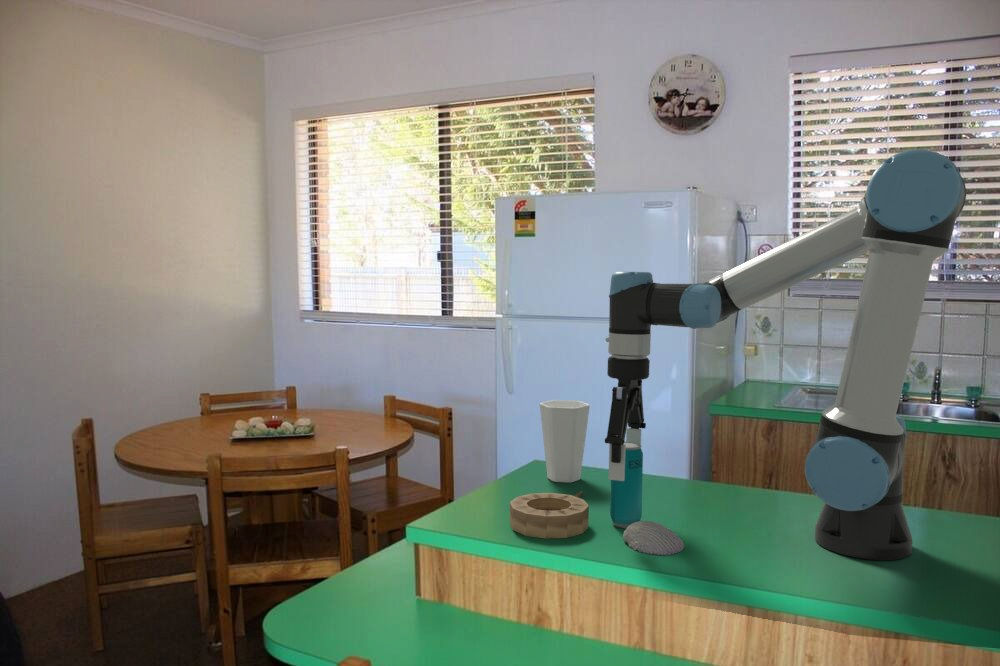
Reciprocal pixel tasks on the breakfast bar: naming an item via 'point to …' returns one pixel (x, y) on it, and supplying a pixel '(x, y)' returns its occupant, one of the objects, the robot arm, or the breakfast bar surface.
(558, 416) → the cup
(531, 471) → the breakfast bar surface
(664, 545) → the seashell
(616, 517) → the beverage can
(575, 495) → the brown stick
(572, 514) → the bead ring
